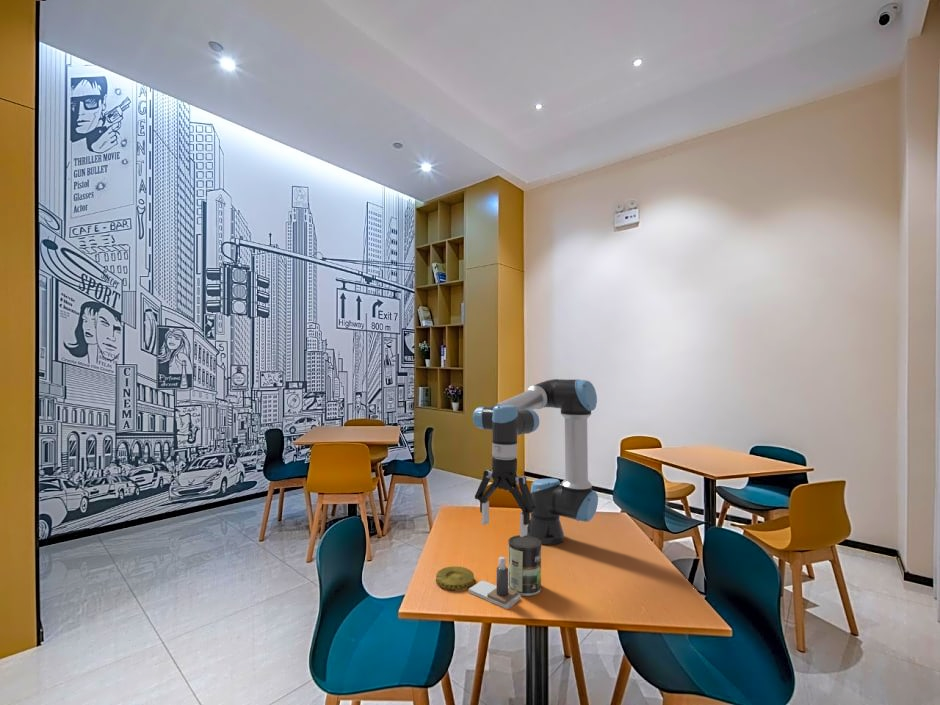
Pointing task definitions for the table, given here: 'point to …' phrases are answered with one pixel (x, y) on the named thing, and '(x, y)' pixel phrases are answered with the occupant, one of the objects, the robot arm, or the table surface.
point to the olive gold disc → (454, 578)
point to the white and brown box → (494, 594)
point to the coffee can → (524, 565)
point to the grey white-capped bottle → (502, 578)
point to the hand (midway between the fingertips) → (503, 529)
